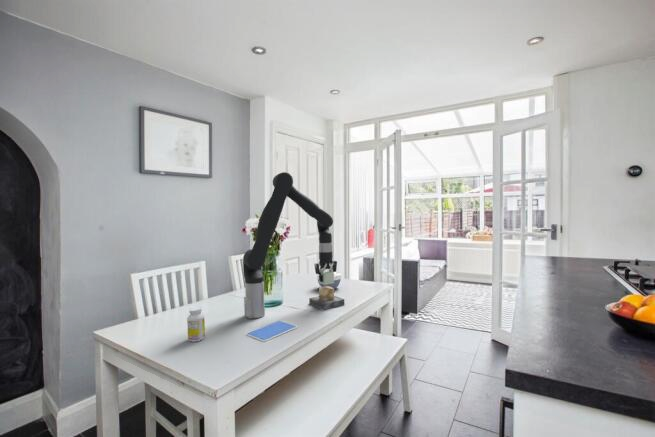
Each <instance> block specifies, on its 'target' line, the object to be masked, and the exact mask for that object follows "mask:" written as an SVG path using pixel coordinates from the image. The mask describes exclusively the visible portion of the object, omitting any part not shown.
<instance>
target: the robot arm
mask: <svg viewBox="0 0 655 437" xmlns="http://www.w3.org/2000/svg"><path fill="white" fill-rule="evenodd" d="M293 184H294V179H293V176H292V174H290V173H289V172H287V171H284V172H279V173H278V174H277V175H275V176H274V177H273V179H272V185H273V191H272V194H271V196H270V198H269V199H268V201H267V203H266V204H265V207H264V208H263V209H262V212H261V214H260V216H259V221H258V223H257V229H256V230H257V231H256V238H255V242H254V244H253V247H252V248H251V249H248V250H247V251H245V252H244V254H243V258H242V266H243V277H244V288H245V290H244V291H245V292H244V293H245V296H244V297H243V303H244V304H243V306H244V317H245V318H247V319H249V320H251V319H259V318H262V317H264V316H265V314H266V312H265V311H266V310H265V308H266V307H265V284H264V283H265V277H264V274H263V271H262V267H263V266H264V264H265V261H266V259H267V254H268V251H269V248H270V245H271V241H272V240H273V236H274V234H275V231H276V228H277V226H278V224H279V220H280V217H281V215H282V211H283V208H284V205H285V201H286V199H287V198H289V199H291V200H292V201H293V202H294V203H295V204H296V205H297V206H298V207H299V208H301V209H302V210H303V212H305V213H306V214H307V215H308V216H310V217H311V218H313V219H314V220H316V227H317V232H318V242H319V243H318V260H319V261H318V263H314V270H315V275H317V274H318V275H319V281H320V282H323V272H324V271H326V270H327V271H331V272H337V266H338V261H336V260H333V259H334V258H333V254H334V253H333V240H332V239H333V238H332V237H333V236H332V232H331V231H330V227H332V226H333V224H334V219H333V217H332V216H331V215H330V213H328V212H327V211H326V210H324V209H322V208H321V207H320V206H319V205H318V204H317V203H315V202H314V200H312V199H311V198H310V197H308V196H307V195H305V194H303V193H302V192H300V190H298V189H297V188H296V187H295V186H294V185H293Z"/></svg>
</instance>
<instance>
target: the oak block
mask: <svg viewBox="0 0 655 437" xmlns="http://www.w3.org/2000/svg"><path fill="white" fill-rule="evenodd" d="M318 296H319V299H321V300H324V301H328V300H332V299H334V296H335V289H334V288H332V287H329V286H326V287H321V286H320V287H319V288H318Z"/></svg>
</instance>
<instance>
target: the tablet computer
mask: <svg viewBox="0 0 655 437" xmlns="http://www.w3.org/2000/svg"><path fill="white" fill-rule="evenodd" d="M295 329H298V327H297V325H294V324H290V323H288V322H284V321H281V320H277V321H275V322H273V323H270V324H268V325H265V326H263V327H260V328H257V329H255V330H252V331H249V332H247V333H246V336H247V337H249V338H251V339H252V338H253V339H254V340H258V341H260V342H263V343H266V342H268V341H270V340H272V339H275V338H276V337H279V336H282V335H284V334H286V333H288V332H291V331H293V330H295Z"/></svg>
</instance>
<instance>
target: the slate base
mask: <svg viewBox="0 0 655 437" xmlns="http://www.w3.org/2000/svg"><path fill="white" fill-rule="evenodd" d="M309 304H310V305H312V306H314V307H316V308H318V309H320V310H328V309H333V308H337V307H341V306H345V299H344V298H341V297H340V296H337V295H334V299H332V300H328V301H324V300H321V299H319V295H317V296H314V297H309Z"/></svg>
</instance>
